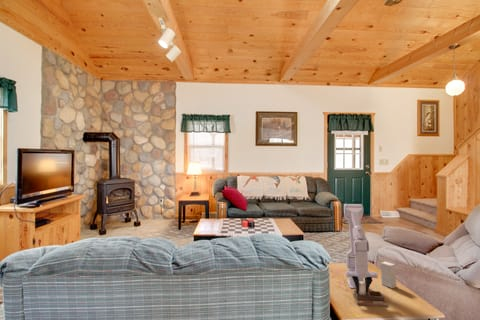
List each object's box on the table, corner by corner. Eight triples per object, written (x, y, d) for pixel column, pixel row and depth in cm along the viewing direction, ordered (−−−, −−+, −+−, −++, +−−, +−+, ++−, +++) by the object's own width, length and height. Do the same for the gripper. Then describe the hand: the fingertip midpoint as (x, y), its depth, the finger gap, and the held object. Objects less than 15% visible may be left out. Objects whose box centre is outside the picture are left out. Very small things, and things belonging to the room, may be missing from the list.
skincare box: (396, 286, 151) (396, 264, 151) (391, 288, 149) (391, 265, 149) (385, 282, 156) (385, 260, 156) (380, 284, 154) (380, 262, 154)
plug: (357, 293, 140) (357, 281, 140) (365, 293, 139) (365, 281, 139) (358, 296, 137) (358, 284, 137) (366, 297, 136) (366, 284, 136)
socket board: (353, 295, 142) (352, 289, 142) (380, 297, 140) (380, 291, 140) (357, 304, 133) (357, 298, 133) (387, 306, 131) (386, 300, 131)
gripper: (347, 266, 135) (348, 294, 135) (379, 267, 133) (380, 296, 133) (344, 261, 142) (345, 288, 142) (375, 262, 140) (375, 289, 140)
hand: (362, 291), depth 138 cm, fingers closed on plug, 3 cm apart
